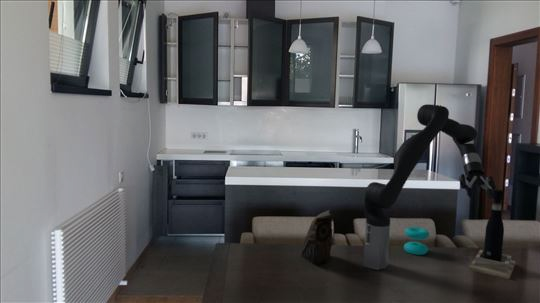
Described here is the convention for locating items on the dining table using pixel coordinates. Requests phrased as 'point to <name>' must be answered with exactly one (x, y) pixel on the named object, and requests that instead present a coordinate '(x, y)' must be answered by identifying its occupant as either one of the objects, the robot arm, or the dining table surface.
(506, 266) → the bottle stand
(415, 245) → the donuts
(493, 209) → the wine bottle
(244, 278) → the dining table surface
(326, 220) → the owl
